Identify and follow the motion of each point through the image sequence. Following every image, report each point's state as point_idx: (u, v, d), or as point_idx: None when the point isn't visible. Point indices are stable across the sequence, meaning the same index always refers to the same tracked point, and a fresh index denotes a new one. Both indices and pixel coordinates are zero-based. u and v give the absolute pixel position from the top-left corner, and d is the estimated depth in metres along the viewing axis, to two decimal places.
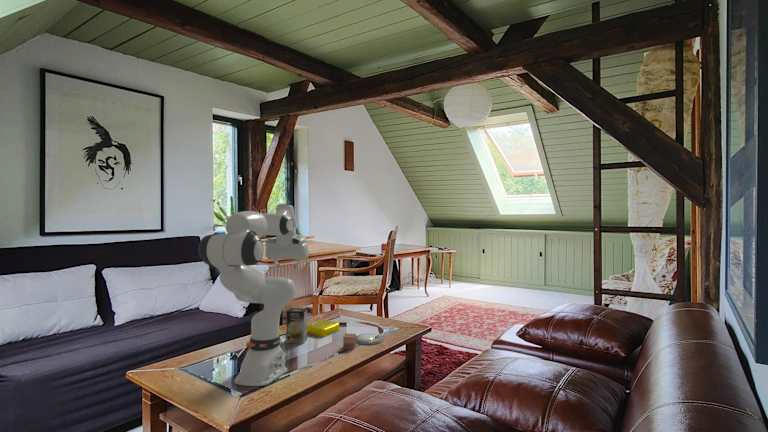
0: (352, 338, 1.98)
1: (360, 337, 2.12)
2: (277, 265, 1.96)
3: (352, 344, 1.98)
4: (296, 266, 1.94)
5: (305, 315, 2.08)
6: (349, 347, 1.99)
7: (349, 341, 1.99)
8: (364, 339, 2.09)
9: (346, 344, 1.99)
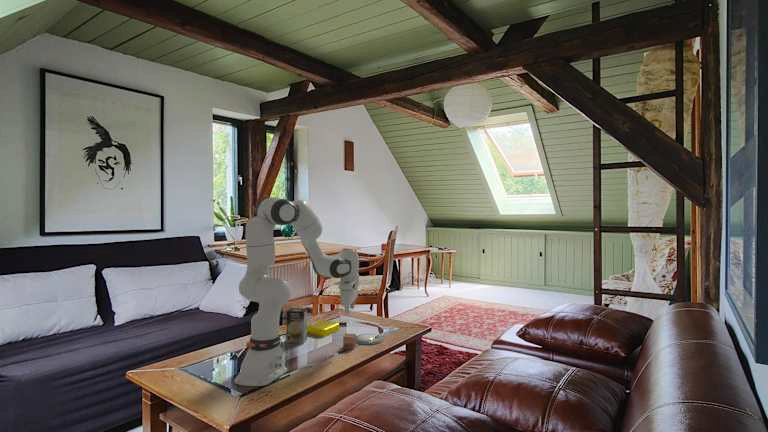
0: (352, 338, 1.98)
1: (360, 337, 2.12)
2: (350, 305, 2.05)
3: (352, 344, 1.98)
4: None
5: (305, 315, 2.08)
6: (349, 347, 1.99)
7: (349, 341, 1.99)
8: (364, 339, 2.09)
9: (346, 344, 1.99)
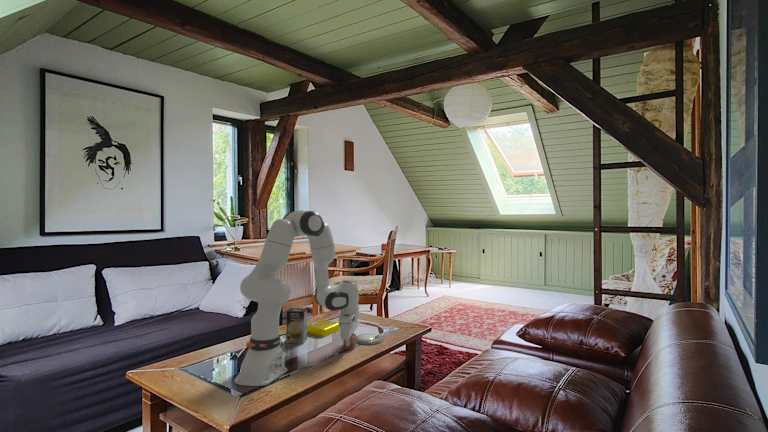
0: (352, 338, 1.98)
1: (360, 337, 2.12)
2: None
3: (352, 344, 1.98)
4: None
5: (305, 315, 2.08)
6: (349, 347, 1.99)
7: None
8: (364, 339, 2.09)
9: None
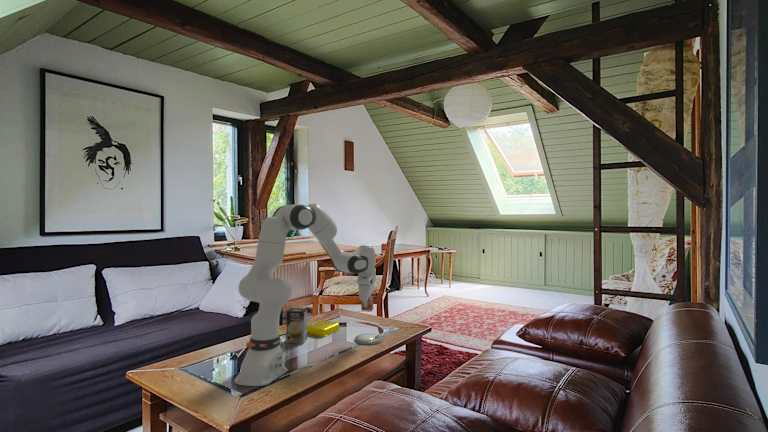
0: (370, 300, 2.07)
1: (360, 337, 2.12)
2: None
3: (370, 305, 2.08)
4: None
5: (305, 315, 2.08)
6: (367, 308, 2.08)
7: None
8: (364, 339, 2.09)
9: None
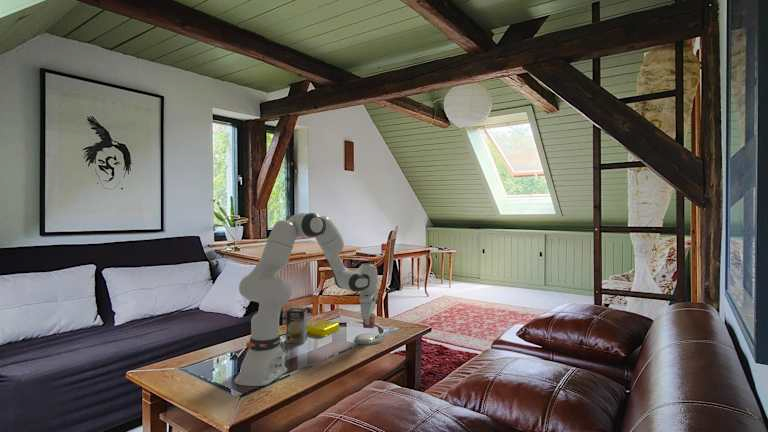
0: (372, 317, 2.09)
1: (360, 337, 2.12)
2: None
3: (371, 323, 2.09)
4: None
5: (305, 315, 2.08)
6: (369, 326, 2.09)
7: (369, 320, 2.09)
8: (364, 339, 2.09)
9: None
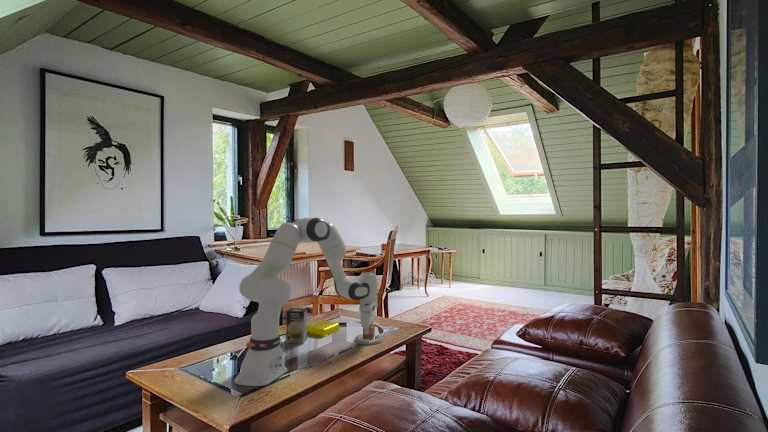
0: (372, 329, 2.09)
1: (360, 337, 2.12)
2: None
3: (371, 334, 2.09)
4: None
5: (305, 315, 2.08)
6: (368, 337, 2.09)
7: None
8: (364, 339, 2.09)
9: (366, 334, 2.10)
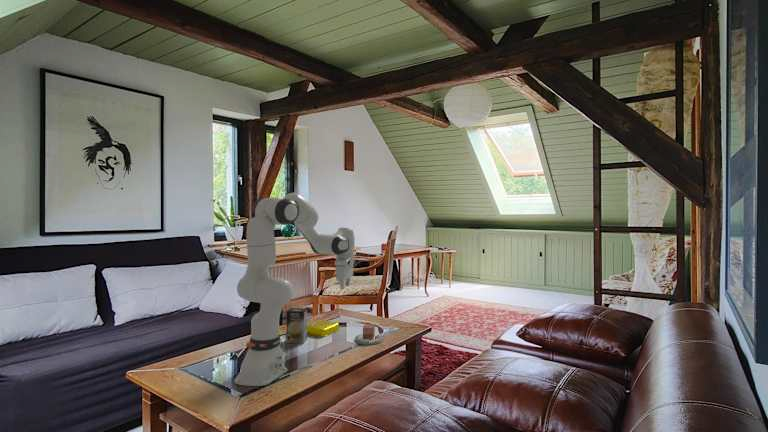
0: (372, 329, 2.09)
1: (360, 337, 2.12)
2: None
3: (371, 334, 2.09)
4: None
5: (305, 315, 2.08)
6: (368, 337, 2.09)
7: (368, 331, 2.09)
8: (364, 339, 2.09)
9: (366, 334, 2.10)
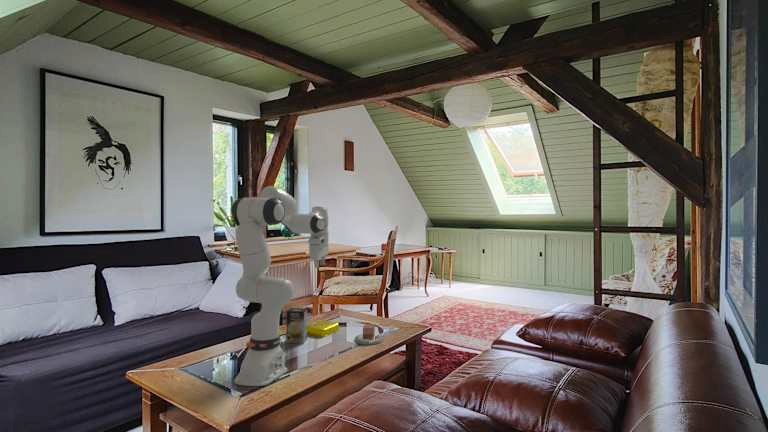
0: (372, 329, 2.09)
1: (360, 337, 2.12)
2: None
3: (371, 334, 2.09)
4: None
5: (305, 315, 2.08)
6: (368, 337, 2.09)
7: (368, 331, 2.09)
8: (364, 339, 2.09)
9: (366, 334, 2.10)
